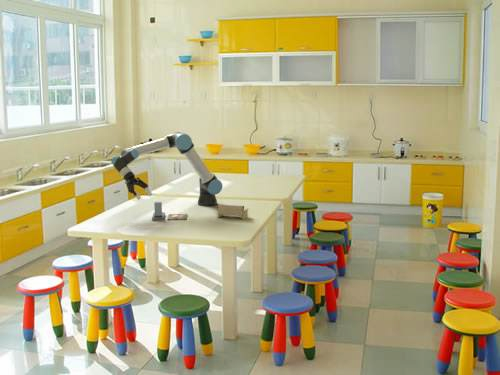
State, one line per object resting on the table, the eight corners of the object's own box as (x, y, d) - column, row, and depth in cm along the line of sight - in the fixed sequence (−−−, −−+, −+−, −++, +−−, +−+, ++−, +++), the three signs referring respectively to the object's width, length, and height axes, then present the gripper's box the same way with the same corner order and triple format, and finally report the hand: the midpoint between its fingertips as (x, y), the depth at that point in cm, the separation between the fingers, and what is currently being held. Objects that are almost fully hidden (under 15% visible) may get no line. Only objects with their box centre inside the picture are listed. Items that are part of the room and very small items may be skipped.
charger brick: (162, 218, 455) (161, 201, 453) (161, 219, 450) (161, 203, 448) (155, 218, 455) (154, 201, 453) (154, 219, 450) (154, 203, 448)
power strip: (153, 216, 464) (153, 211, 464) (165, 216, 465) (164, 211, 464) (152, 222, 447) (151, 216, 446) (163, 221, 447) (163, 216, 447)
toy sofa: (248, 217, 457) (248, 203, 456) (244, 220, 449) (244, 205, 448) (221, 215, 464) (220, 201, 462) (216, 218, 456) (216, 204, 454)
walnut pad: (187, 215, 465) (186, 213, 464) (186, 220, 449) (186, 218, 449) (168, 215, 464) (168, 214, 464) (167, 220, 448) (167, 219, 448)
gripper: (135, 175, 470) (152, 197, 466) (113, 180, 448) (131, 203, 444) (140, 168, 467) (158, 190, 462) (119, 173, 445) (137, 196, 441)
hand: (145, 197), depth 453 cm, fingers open, 13 cm apart
